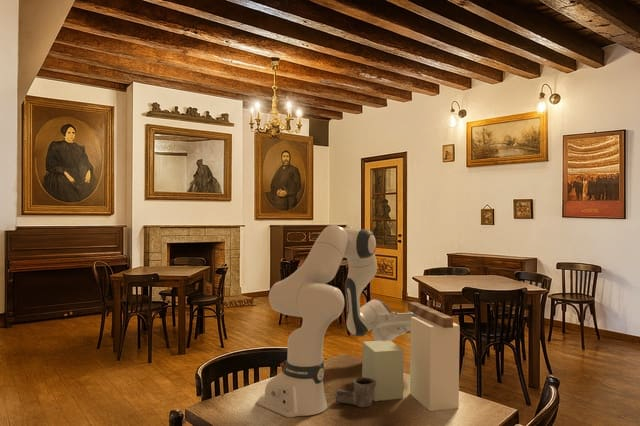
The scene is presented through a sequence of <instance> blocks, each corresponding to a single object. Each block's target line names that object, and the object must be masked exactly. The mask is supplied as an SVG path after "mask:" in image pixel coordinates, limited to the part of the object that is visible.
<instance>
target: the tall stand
mask: <svg viewBox="0 0 640 426" xmlns="http://www.w3.org/2000/svg"><path fill="white" fill-rule="evenodd" d="M460 326H461V325H459V324H457V323H456V322H453V328H443V327H441V326H439V325H437V324H435V323H433V322H431V321H429V320H427V319H425V318H422V317H411V332H410V353H409V354H410V357H409V359H410V362H409V363H410V366H409V367H410V369H409V371H410V372H409V373H410V374H409V377H410V378H409V394H410V395H411V396H412V397H413V398H414V399H416V400H417V401H418V402H419V403H420V404H421V405H422V406H423V407H424V408H426V409H427V410H428V411H429V412H433V411H434V412H435V411H443V410H455V409H459V407H460V405H459V404H460V401H459V399H460V336H461V335H460V330H461V329H460V328H461V327H460Z"/></svg>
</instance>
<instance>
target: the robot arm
mask: <svg viewBox="0 0 640 426" xmlns="http://www.w3.org/2000/svg"><path fill="white" fill-rule="evenodd" d="M376 248H377V239H376V236H375V234H374V233H373V232H372V231H371V230H368V229H365V228H362V229H359V228H350V227H341V226H339V225H336V224H332V225H331V224H330V225H328V226H326V227H325V228H323V230H322V231H321V232H320V234H318V237H317V238H316V240H315V241H314V243H313V245H312V247H311V249H310V251H309V253H308V255H307V257H306V258H305V260H304V262H303V263H302V264H301V265H300V266H299V267H298V268H297V269H296V270H295V271H294V272H293V273H291V274H290V275H289V276H288V277H285V278H284V279H282V280H279V281H277V282H275V283H274V284H273V285H272V286H271V288H270V290H269V293H268V303H269V306H270V308H271V309H272V310H273V311H275V312H277V313H280V314H282V315H285V316H292V317H298V318H302V324H301V327H299V328H297V329H294V330H293V331H291V333H290V334H289V335H288V338H287V357H286V358H287V359H286V360H284V361H283V362H281V363H280V367H279V368H282V366H284V368H283V371H282V370H281V372H279V373H278V374H276V375H275V376H274V377H273V378H271V379H270V380H269V381H268V382H267V383H266V385H265V389H264V393H263V394H262V395H260V396H259V397H258V399H257V402H256V404H257V405H258V406H261V407H263V408H265V409H268V410H270V411H272V412H275V413H277V414H279V415H282V416H284V417H286V418H295V417H298V416H299V417H301V416H302V417H304V416H313V415H318V414H320V413H322V412H324V411H326V409H327V408H328V404H327V400H326V395H325V388H324V377H325V376H324V375H325V366H324V365H325V363H324V360H323V355H324V354H323V353H324V352H323V351H324V339H325V334H326V331H327V329H328V328H329V326H330V325H331V324H332V322H333V321H335V320H337V319H338V318H339V317H340V316H341V314H342V313H343V310H344V308H346V310H345V311H346V319H345V324H346V325H345V326H346V328H347V331H348V332H349V333H350V335H352V336H354V337H361V338H363V337H364V336H366V334H368V333H369V332H370V331H371V330H372V338H373V341H381V340H390V341H391V342H393V341H394V340H395V339H396V338H398V337H399V336H403V335H404V334H409V333H410V334H411V317H420V316H418V315H416V314H414V313H412V312H397V311H392V312H391V309H390V308H389V307H388V305H387V304H386V303H385V302H384V301H382V300H380V299H377V298H372V299H370V300H369V301H368V302H366V303H364V305H362V306H361V304H360V303H361V301H360V297H361V294H362V292H363V291H364V289H365V288H366V287H367V285H368V284H369V283H370V282H371V281H372V280H373V279H374V278H375V276H376V274H377V272H378V262H377V257H376V253H375V252H376ZM343 258H344V259H346V260H347V264H348V265H347V266H348V273H347V277H346V280H345V283H344V294H343V293H342V291H341V289H339V287H336V286H333V285H330V284H328V283H329V282H331V281H332V280H333V279H335V277H336V274H337V273H338V270H339V268H340V265H341V263H342V262H343ZM344 296H345V297H344Z"/></svg>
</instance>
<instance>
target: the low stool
mask: <svg viewBox="0 0 640 426" xmlns="http://www.w3.org/2000/svg"><path fill="white" fill-rule="evenodd" d="M361 351H362V354H361V355H362V356H361V359H362V361H361V362H362V363H361V365H362V366H361V367H362V368H361V377H365V378H371V379H373V380H375V381H376V385H375V387H374V391H373V396H372V401H374V402H380V400H381V401H390V400H401V399H403V398H404V349H403V348H402V347H400V346H399V345H398V344H396V343H394V342H393V341H390V340H381V341H375V340H369V341H368V340H367V341H366V340H365V341H362V350H361Z"/></svg>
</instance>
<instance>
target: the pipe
mask: <svg viewBox="0 0 640 426" xmlns="http://www.w3.org/2000/svg"><path fill="white" fill-rule="evenodd" d="M352 383H353V391H351V390H345V389H344V390H343V389H336V392H335V402H336V403H340V404H346V405H353V406H354V405H355V406H357V407H359V408H368V407H370V406H372V404H373V399H372V396H373V391H374V387H375V385H376V381H375V380H373V379H371V378H365V377H362V376H361V377H356V378H355V379H353V381H352Z"/></svg>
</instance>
